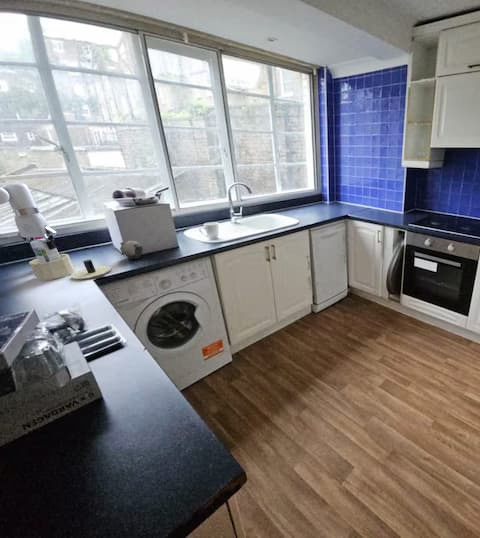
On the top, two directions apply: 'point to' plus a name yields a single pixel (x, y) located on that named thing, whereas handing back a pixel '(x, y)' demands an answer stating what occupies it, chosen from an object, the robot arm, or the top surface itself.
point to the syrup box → (44, 251)
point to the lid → (90, 271)
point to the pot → (52, 268)
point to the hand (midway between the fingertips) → (44, 249)
